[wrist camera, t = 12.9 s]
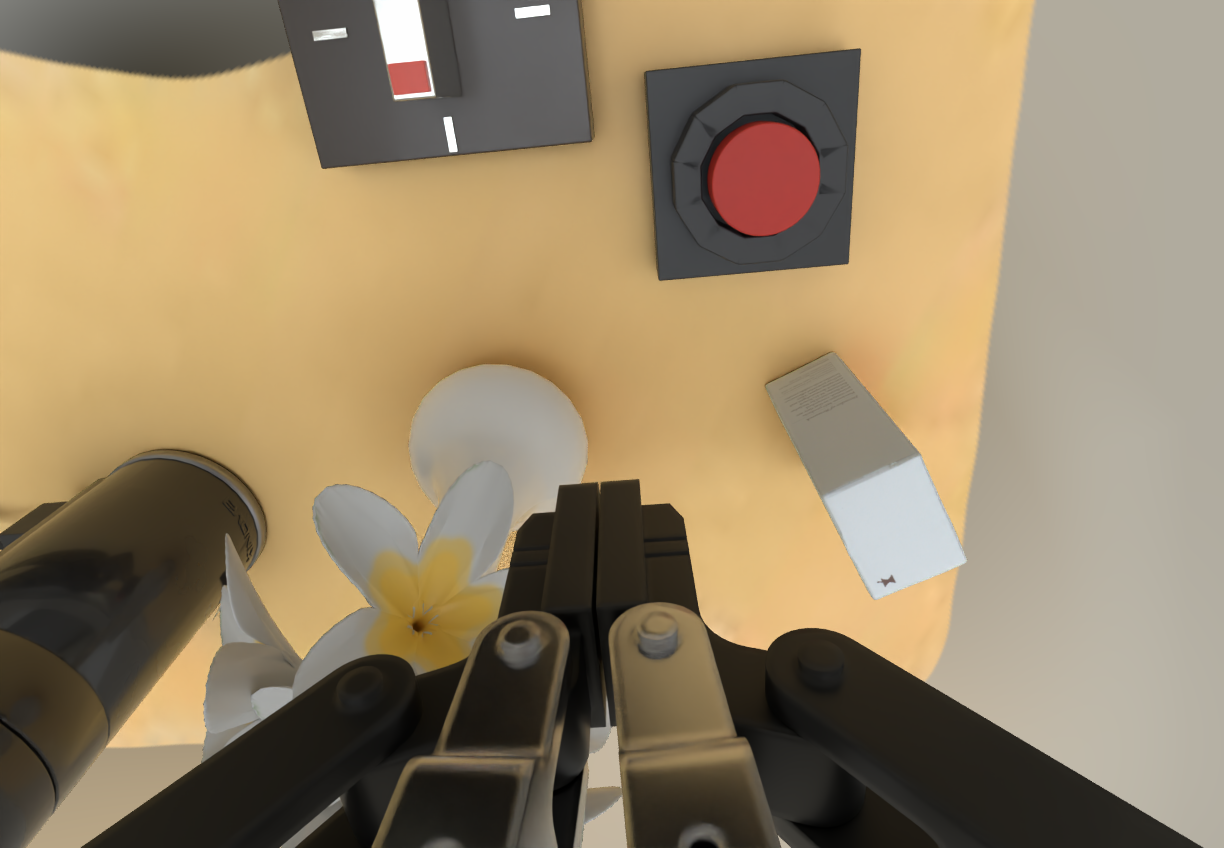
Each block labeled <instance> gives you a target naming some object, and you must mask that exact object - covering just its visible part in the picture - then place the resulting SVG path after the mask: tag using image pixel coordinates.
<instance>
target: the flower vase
mask: <svg viewBox="0 0 1224 848" xmlns="http://www.w3.org/2000/svg"><path fill="white" fill-rule="evenodd" d="M408 447H409V455H410V463H411V468H412V471H413V473H414V475H415V478H416V480H417V482H418V485H419V487H420V489H421V490H422V491H423V493H424V494H425V495H426V496H427V498H428V499H429V500H430V502H431V503H432V504H433V505H434V506H435V507H436V508H437V510H436V512H435V514H434V516H433V519H432V521H431V523H430V525H429V527H428V529H427V532H426V534H425V537H424V539H423V541H422V543H421V545H420V549H419V552H418V542H417V536H416V532H415V530H414V528H413V527H412V525H411V524H410V523H409V521H408V520H407V518H406V517H405V516H403V515H402V514H401V513H400V512H399V511H398V509H397V508H395V507H394V506H393V505H391V504H390V503H389V502H387V501H386V500H385V499H383V498H381V497H379V496H377V495H376V494H374V493H373V492H371V491H367V490H365V489H362V488H360V487H356V486H351V485H347V484H345V485H339V484H335V485H333V486H327V487H326V488H325V489H324V490H323V491H322V492H321V493H320V494H319V495H318V496H317V497H316V498H315V501H314V505H313V521H314V523H315V527H316V532H317V534H318V536H319V537H320V540H321V542H322V545H323V546H324V548H325V549H326V550H327V552H328V554H329V556H330V557H331V559H332V560H333V561H334V562H335V563H336V565H337V566H338V568H339V569H340V570H341V572H343V573H344V574H345V576H346V577H347V578H348V579H349V580H350V582H351V583H352V584H354V585H355V586H356V587H357V588H358V590H359V591H360V592H361V594H362V595H363V596H364V597H365V599H366V600H367V602H368V603H369V604H370V605H371V606H372V607H373V608H371V607H367V608H361V609H359V610H357V611H356V612H354V613H352V614H350V615H348V616H346V617H345V618H344V619H343V620H341V621H340V622H338V623H336V624H335V625H334V626H333V627H332V628H331V629H330V630H329V631H328V632H326V633H325V634H324V635H323V636H322V637H321V638H320V639H319V640H318V642H317V643H316V644H315V645H314V646H313V647H312V648H311V649H310V651H309V652H308V654H307V655H306V657H305V658H304V659H303V660H302V659H301V658H300V657H299V656H298V655H297V653H296V652H295V651H294V650H293V648H292V646H291V645H290V644H289V643H288V641H287V640H286V638H285V637H284V636H283V634H282V633H281V631H280V630H279V628H278V627H277V625H276V624H275V622H274V621H273V619H272V618H271V616H270V614H269V613H268V611H267V610H266V608H265V606H264V604H263V603H262V601H261V599H260V597H259V595H258V594H257V592H256V590H255V588H254V586H253V584H252V582H251V580H250V578H249V576H248V574H247V572H246V570H245V568H244V566H243V564H242V562H241V560H240V558H239V555H238V553H237V551H236V549H235V547H234V545H233V543H232V540H231V538H230V536H229V534H228V533H226V537H225V540H226V542H225V546H226V549H225V554H226V560H225V563H226V578H227V585H224V586H223V587H222V590H221V592H222V597H221V600H220V628H221V638H222V645H223V646H222V647H220V648H219V650H218V651H217V652H216V655H215V657H214V658H213V662H212V664H211V666H210V671H209V674H208V680H207V683H206V697H205V701H204V704H203V705H204V712H203V714H204V722H205V727H206V728H207V732H206V738H205V740H204V747H203V758H202V761H201V763H203V762H204V761H205V760H207V759H208V758H210V757H211V756H213V755H214V754H215V753H217V752H218V751H220V750H221V749H223V748H224V747H225V746H227V745H228V744H230V743H231V742H233V741H234V740H235V739H237V738H238V737H240V736H241V735H243V734H244V733H245V732H247V731H248V730H250V729H251V728H253V727H254V726H255V725H257V724H258V723H260V722H261V721H263V720H264V719H265V718H267V717H268V716H270V715H271V714H273V713H274V712H275V711H277V710H278V709H280V708H281V707H283V706H284V705H285V704H287V703H288V702H290V701H291V700H293V699H294V698H295V697H297V696H298V695H300V694H301V693H303V692H304V691H306V690H307V689H308V688H310V687H311V686H313V685H314V684H316V683H317V682H318V681H320V680H321V679H323V678H324V677H326V676H327V675H328V674H330V673H331V672H333V671H334V670H336V669H337V668H339V667H341V666H342V665H344V664H346V663H348V662H350V661H353V660H355V659H358V658H361V657H365V656H369V655H375V654H389V655H395V656H398V657H401V658H403V659H405V660H406V661H407V662H408V663H409V664H410V665H411V666H412V668H413V670H414V673H415V676H417V675H420V674H423V673H426V672H430V671H433V670H436V669H439V668H442V667H446V666H449V665H451V664H454V663H457V662H459V661H461V660H463V659H465V658H466V657H468V656H469V654H470V652H471V649H472V646H473V644H474V642H475V640H476V638H477V636H478V635H479V634H480V632H481V631H482V630H483V629H484V628H485V627H486V626H488V625H489V624H490V623H492V622H493V621H495V620H497V618H498V614H499V609H500V605H501V601H502V596H503V592H504V588H505V583H506V579H507V575H508V570H509V568H505V569H502V570H499V571H497V569H498V566H499V563H500V560H501V557H502V554H503V551H504V548H505V545H506V542H507V540H508V538H509V535H510V533H511V532H514V531H518V529H519V528H520V527H521V526H522V525H523V524H524V522H525V521H526V520H527V519H528V518H529V517H530V516H531V515H532V514H533V513H545V512H555V509H556V502H557V495H558V488H559V485H568V484H581V482H582V479H583V476H584V473H585V469H586V466H587V463H588V438H587V434H586V431H585V427H584V424H583V421H582V418H581V416H580V415H579V413H578V411H577V410H576V408H575V407H574V405H573V403H572V402H571V400H570V399H569V397H568V396H566V395H565V394H564V393H563V392H562V391H561V390H560V389H559V388H558V387H557V386H556V385H555V384H554V383H552V382H551V381H549V380H547V379H545V378H544V377H542V376H540V375H538V374H536V373H535V372H533V371H530V370H527V369H523V368H519V367H516V366H512V365H508V364H482V365H478V366H473V367H469V368H465V369H461V370H459V371H457V372H455V373H453V374H451V375H450V376H448V377H446V378H444V379H442V380H440V381H439V382H438V383H437V384H436V385H435V386H434V387H433V388H432V389H431V390H430V391H429V392H428V393H427V394H426V395H425V396H424V397H423V399H422V401H421V403H420V405H419V406H418V408H417V410H416V412H415V414H414V416H413V419H412V424H411V429H410V435H409V441H408ZM611 728H612V727H610V719H609V710H608V702H607V701H606V727H599V728H590V750H589V753H595V752H597V751H599V750H600V749H601V748H602V747H603V745H604V744H605V743H606V740H607V739H608V737H609V734H610V732H611ZM621 796H622V788H620V787H613V786H612V787H600V788H589V789H587V795H586V803H585V812H584V820H583V828H582V836H581V844H580V848H581V845H582V841H583V831H584V824H586V823H588V822H589V821H591V820H593V819H595V818H596V817H598V816H599V815H601V814H602V813H604V812H605V811H606V810H607V809H609V808H610V807H612V806H613V805H614V803H615V802H617V801H618V800H619V798H620V797H621ZM342 806H343V805H342V802H341V799H340V797H339V798H338V799H336V800H335V801H334V802H333V803H332V804H331V805H329V806H328V807H327V808H326V809H325V810H323V811H322V812H321V813H320V814H319V815H318V816H316V817H315V818H314V819H313V820H312V821H310V822H309V823H308V824H307V825H306V826H305V827H303V828H302V829H301V830H300V831H299V832H298V833H296V834H295V835H294V836H293V837H292V838H290V839H289V840H288V841H287V842H286V843H285V844H283V845H282V847H281V848H295V847H296V846H297V845H298V844H299V843H300V842H301V841H303V840H304V839H305V838H306V837H307V836H308V835H310V834H311V833H312V832H313V831H314V830H315V829H317V828H318V827H319V826H320V825H321V824H322V823H324V822H325V821H326V820H327V819H328V818H329V817H331V816H332V815H333V814H334V813H335V812H336V811H338V810H339V809H340V808H341V807H342Z"/></svg>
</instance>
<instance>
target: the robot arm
mask: <svg viewBox="0 0 1224 848" xmlns="http://www.w3.org/2000/svg"><path fill="white" fill-rule="evenodd" d="M226 533H228V534H229V536H230V538H231V540H232V543H233V545H234V547H235V549H236V551H237V553H238V555H239V558H240V560H241V562H242V564H243V566H244V568H245V570H246V572H247V571H248V570H249V569H250V567H251V566H252V565H253V564H254V563H255V561H256V560H257V559H258V557H259V556H260V554H261V552H262V550H263V548H264V544H265V539H266V525H265V520H264V516H263V513H262V511H261V509H260V506H259V504H258V503H257V501H256V499H255V498H254V496H253V495H252V493H251V492H250V491H249V490H248V488H247V487H246V486H245V485H244V484H243V483H242V482H241V481H240V480H239V479H238V478H237V477H235V476H234V475H233V474H232V473H230V472H229V471H227V470H226V469H224V468H223V467H221V466H220V465H218V464H216V463H214V462H212V461H210V460H208V459H206V458H203V457H200V456H198V455H194V454H191V453H187V452H182V451H175V450H156V451H149V452H145V453H142V454H139V455H136V456H134V457H132V458H130V459H129V460H127V461H126V462H124V463H123V464H122V465H120V466H119V467H117V468H116V469H115V470H114V471H113V472H112V473H111V474H110V475H109V476H108V477H107V478H104V479H98V480H97V481H95V482H94V483H93V484H91V485H90V486H88V487H87V488H86V489H84V490H83V491H82V492H80V493H79V494H78V495H76V496H75V497H73V498H72V499H71V500H69V501H68V502H57V503H44V504H42V505H40V506H39V507H37V508H36V509H35V510H33V511H32V512H30V513H29V514H27V515H26V516H25V517H23V518H22V519H20V520H19V521H18V522H16V523H15V524H13V525H12V526H10V527H9V528H8V529H6V530H5V531H3V532H2V533H1V534H0V550H1V551H0V848H27V846H28V845H29V844H30V843H31V841H32V840H33V839H34V838H35V836H36V835H37V834H38V833H39V831H40V830H41V828H42V827H43V826H44V825H45V824H46V822H47V821H48V820H49V818H50V817H51V815H52V814H53V813H54V812H55V811H56V809H57V808H58V807H59V806H60V804H61V803H62V802H63V801H64V799H65V798H66V797H67V795H68V794H69V793H70V792H71V791H72V789H73V788H74V787H75V785H76V784H77V783H78V782H79V780H80V779H81V778H82V777H83V775H84V774H85V773H86V772H87V770H88V769H89V768H90V766H91V765H92V764H93V763H94V762H95V760H96V759H97V758H98V756H99V755H100V754H101V753H102V751H103V750H104V748H105V747H106V746H107V745H108V743H109V742H110V741H111V740H112V738H113V737H114V736H115V735H116V733H117V732H118V731H119V730H120V728H121V727H122V726H123V725H124V723H125V722H126V721H127V720H128V718H129V717H130V716H131V715H132V713H133V712H134V711H135V709H136V708H137V707H138V706H139V704H140V703H141V702H142V701H143V699H144V698H145V697H146V696H147V694H148V693H149V692H150V691H151V689H152V688H153V687H154V686H155V684H156V683H157V682H158V681H159V679H160V678H161V677H162V676H163V674H164V673H165V672H166V670H167V669H168V668H169V667H170V665H171V664H172V663H173V662H174V660H175V659H176V658H177V657H178V655H179V654H180V653H181V652H182V650H183V649H184V648H185V647H186V645H187V644H188V643H189V642H190V640H191V639H192V638H193V637H194V635H195V634H196V633H197V631H198V630H199V629H200V628H201V626H202V625H203V624H204V623H205V621H206V620H207V619H208V618H209V616H210V615H211V614H212V613H213V611H214V610H215V609H216V608H217V606H218V605H219V604H220V600H221V597H222V592H221V590H222V587H223V586H224V585H227V578H226V563H225V560H226V554H225V549H226V546H225V542H226V540H225V537H226ZM219 612H220V607H219V609H218V611H217V613H216V615H217V614H218V613H219ZM216 615H215V617H216ZM215 617H214V618H215ZM212 621H213V620H212ZM606 701H607V702H608V710H609V719H610V727H612V726H617V734H618V744H619V762H620V775H621V785H622V795H623V806H624V816H625V828H626V839H627V848H781V845H780V842H779V838H778V835H779V837H780V838H781V839H782V840H784V841H785V842H786V843H787V844H788V845H789V846H790V847H791V848H1203V847H1201V846H1200V845H1198V844H1196V843H1194V842H1193V841H1191V840H1190V839H1188V838H1186V837H1184V836H1183V835H1181V834H1179V833H1178V832H1176V831H1174V830H1173V829H1171V828H1169V827H1167V826H1166V825H1164V824H1163V823H1161V822H1159V821H1157V820H1156V819H1154V818H1152V817H1151V816H1149V815H1147V814H1146V813H1144V812H1142V811H1140V810H1139V809H1137V808H1135V807H1134V806H1132V805H1131V804H1129V803H1127V802H1126V801H1124V800H1122V799H1120V798H1119V797H1117V796H1115V795H1114V794H1112V793H1110V792H1109V791H1107V790H1105V789H1104V788H1102V787H1100V786H1099V785H1097V784H1095V783H1093V782H1092V781H1090V780H1088V779H1087V778H1085V777H1083V776H1082V775H1080V774H1078V773H1077V772H1075V771H1073V770H1071V769H1070V768H1068V767H1067V766H1065V765H1063V764H1062V763H1060V762H1058V761H1056V760H1054V759H1053V758H1051V757H1050V756H1048V755H1046V754H1045V753H1043V752H1041V751H1040V750H1038V749H1036V748H1035V747H1033V746H1031V745H1030V744H1028V743H1026V742H1024V741H1023V740H1021V739H1019V738H1018V737H1016V736H1014V735H1013V734H1011V733H1009V732H1008V731H1006V730H1004V729H1003V728H1001V727H999V726H997V725H996V724H994V723H992V722H991V721H989V720H987V719H986V718H984V717H982V716H981V715H979V714H977V713H976V712H974V711H972V710H970V709H969V708H967V707H966V706H964V705H962V704H960V703H959V702H957V701H955V700H954V699H952V698H950V697H949V696H947V695H945V694H943V693H942V692H940V691H939V690H936V689H935V688H934V687H932V686H930V685H928V684H927V683H925V682H923V681H922V680H920V679H918V678H917V677H915V676H913V675H912V674H910V673H908V672H907V671H905V670H903V669H902V668H900V667H898V666H896V665H895V664H893V663H891V662H890V661H888V660H886V659H885V658H883V657H881V656H880V655H878V654H876V653H875V652H873V651H871V650H870V649H868V648H866V647H864V646H863V645H861V644H859V643H858V642H856V641H854V640H853V639H851V638H849V637H847V636H845V635H843V634H840V633H837V632H834V631H830V630H826V629H819V628H805V629H797V630H793V631H790V632H788V633H785V634H783V635H781V636H780V637H778V638H777V639H776V640H775V641H774V642H773V643H772V644H771V645H770V647H769V648H768V651H767V650H761V649H756V648H750V647H745V646H741V645H737V644H735V643H732V642H729V641H727V640H725V639H723V638H721V637H720V636H718V635H717V634H715V633H714V632H713V631H712V630H710V629H709V628H708V627H707V625H706V624H705V623H704V621H703V619H702V618H701V615H700V612H699V607H698V601H697V595H696V589H695V583H694V577H693V571H692V565H691V559H690V555H689V548H688V542H687V536H686V530H685V524H684V518H683V517H682V516H681V515H680V514H679V513H678V512H677V511H676V510H675V509H674V508H673V507H672V506H671V504H670V503H669V504H655V505H641V495H640V483H639V479H634V480H621V481H607V482H601V488H600V490H599V484H598V482H595V483H582V484H568V485H559V488H558V495H557V502H556V509H555V512H545V513H533V514H532V515H531V516H530V517H529V518H528V519H527V520H526V521H525V522H524V524H523V525H522V526H521V527H520V528H519V529H518V531H517V535H516V540H515V544H514V552H513V553H512V557H511V562H510V567H509V570H508V575H507V579H506V583H505V588H504V592H503V596H502V601H501V605H500V609H499V614H498V618H497V620H495V621H493V622H492V623H490V624H489V625H488V626H486V627H485V628H484V629H483V630H482V631H481V632H480V634H479V635H478V636H477V638H476V640H475V642H474V644H473V646H472V649H471V652H470V654H469V656H468V657H466V658H465V659H463V660H461V661H459V662H457V663H454V664H451V665H449V666H446V667H442V668H439V669H436V670H433V671H430V672H426V673H423V674H420V675H417V676H415V673H414V670H413V668H412V666H411V665H410V664H409V663H408V662H407V661H406V660H405V659H403V658H401V657H398V656H395V655H389V654H375V655H369V656H365V657H361V658H358V659H355V660H353V661H350V662H348V663H346V664H344V665H342V666H341V667H339V668H337V669H336V670H334V671H333V672H331V673H330V674H328V675H327V676H326V677H324V678H323V679H321V680H320V681H318V682H317V683H316V684H314V685H313V686H311V687H310V688H308V689H307V690H306V691H304V692H303V693H301V694H300V695H298V696H297V697H295V698H294V699H293V700H291V701H290V702H288V703H287V704H285V705H284V706H283V707H281V708H280V709H278V710H277V711H275V712H274V713H273V714H271V715H270V716H268V717H267V718H265V719H264V720H263V721H261V722H260V723H258V724H257V725H255V726H254V727H253V728H251V729H250V730H248V731H247V732H245V733H244V734H243V735H241V736H240V737H238V738H237V739H235V740H234V741H233V742H231V743H230V744H228V745H227V746H225V747H224V748H223V749H221V750H220V751H218V752H217V753H215V754H214V755H213V756H211V757H210V758H208V759H207V760H205V761H204V762H203V763H201V764H200V765H198V766H197V767H195V768H194V769H193V770H191V771H190V772H188V773H187V774H185V775H184V776H183V777H181V778H180V779H178V780H177V781H175V782H174V783H173V784H171V785H170V786H168V787H167V788H166V789H164V790H162V791H161V792H160V793H158V794H157V795H155V796H154V797H153V798H151V799H150V800H148V801H147V802H145V803H144V804H142V805H141V806H140V807H138V808H137V809H135V810H134V811H132V812H131V813H130V814H128V815H127V816H125V817H124V818H122V819H121V820H120V821H118V822H117V823H115V824H114V825H113V826H111V827H110V828H108V829H107V830H106V831H104V832H102V833H101V834H100V835H98V836H97V837H95V838H94V839H92V840H91V841H90V842H88V843H87V844H85V845H84V846H82V847H81V848H280V847H281V846H282V845H283V844H285V843H286V842H287V841H288V840H289V839H290V838H292V837H293V836H294V835H295V834H296V833H298V832H299V831H300V830H301V829H302V828H303V827H305V826H306V825H307V824H308V823H309V822H310V821H312V820H313V819H314V818H315V817H316V816H318V815H319V814H320V813H321V812H322V811H323V810H325V809H326V808H327V807H328V806H329V805H331V804H332V803H333V802H334V801H335V800H336V799H338V798H339V797H340V799H341V802H342V805H343V806H342V807H341V808H340V809H339V810H338V811H336V812H335V813H334V814H333V815H332V816H331V817H329V818H328V819H327V820H326V821H325V822H324V823H322V824H321V825H320V826H319V827H318V828H317V829H315V830H314V831H313V832H312V833H311V834H310V835H308V836H307V837H306V838H305V839H304V840H303V841H301V842H300V843H299V844H298V845H297V846H296V847H295V848H580V844H581V836H582V828H583V820H584V812H585V803H586V795H587V787H588V778H589V777H588V776H589V769H588V763H587V759H588V756H589V750H590V728H599V727H606ZM777 834H778V835H777Z"/></svg>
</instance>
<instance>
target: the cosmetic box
mask: <svg viewBox="0 0 1224 848" xmlns="http://www.w3.org/2000/svg"><path fill="white" fill-rule="evenodd" d="M765 387H766V390H767V392H768V394H769V397H770V399H771V401H772V403H773V405H774V407H775V409H776V411H777V414H778V416H779V418H780V420H781V422H782V424H783V426H784V428H785V430H786V431H787V433H788V435H789V437H790V439H791V441H792V443H793V445H794V447H795V449H796V451H797V453H798V455H799V457H800V459H801V460H802V463H803V465H804V467H805V469H806V471H807V473H808V474H809V476H810V478H811V480H812V482H813V484H814V486H815V488H816V490H817V492H818V494H819V496H820V498H821V500H822V502H823V504H824V506H825V508H826V510H827V512H828V514H829V516H830V518H831V520H832V522H833V524H834V526H835V528H836V530H837V532H838V534H839V535H840V537H841V539H842V541H843V543H844V545H845V547H846V550H847V552H848V554H849V556H850V557H851V559H852V561H853V563H854V565H855V567H856V569H857V571H858V573H859V575H860V577H861V579H862V581H863V583H864V584H865V586H866V588H867V590H868V592H869V594H870V595H871V597H872V598H873V599H874V600H877V599H880V598H882V597H885V596H887V595H889V594H892V593H894V592H897V591H899V590H902V589H904V588H906V587H909V586H911V585H914V584H916V583H919V582H922V581H924V580H927V579H929V578H931V577H934V576H936V575H939V574H941V573H944V572H946V571H949V570H951V569H953V568H956V567H958V566H960V565H962V564H964V563H966V562H967V559H966V556H965V554H964V551H963V549H962V546H961V544H960V541H959V539H958V536H957V534H956V531H955V529H954V527H953V524H952V522H951V520H950V518H949V516H948V514H947V512H946V510H945V508H944V506H943V504H942V502H941V499H940V497H939V495H938V492H937V490H936V488H935V486H934V484H933V481H932V479H931V477H930V475H929V472H928V470H927V468H926V466H925V463H924V461H923V459H922V456H921V454H920V453H919V452H918V451H917V449H916V448H915V447H914V446H913V445H912V443H911V442H910V441H909V440H908V439H907V437H906V436H905V435H904V434H903V433H902V431H901V430H900V429H899V428H898V427H897V425H896V424H895V423H894V422H893V420H892V419H891V418H890V417H889V416H888V415H887V413H886V412H885V411H884V410H883V409H882V407H881V406H880V405H879V404H878V402H877V401H876V400H875V399H874V398H873V396H872V395H871V394H870V393H869V392H868V391H867V389H866V388H865V387H864V386H863V385H862V384H861V382H860V381H859V380H858V379H857V377H856V376H855V375H854V374H853V373H852V372H851V370H850V369H849V368H848V367H847V366H846V365H845V363H844V362H843V361H842V360H841V359H840V358H839V356H838V355H837V354H836V353H835V352H831V353H828V354H826V355H824V356H822V357H820V358H819V359H817V360H815V361H813V362H811V363H809V364H807V365H805V366H803V367H801V368H799V369H797V370H795V371H793V372H791V373H789V374H787V375H785V376H782V377H780V378H778V379H776V380H774V381H772V382H770V383H768V384H767V385H766V386H765Z"/></svg>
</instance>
